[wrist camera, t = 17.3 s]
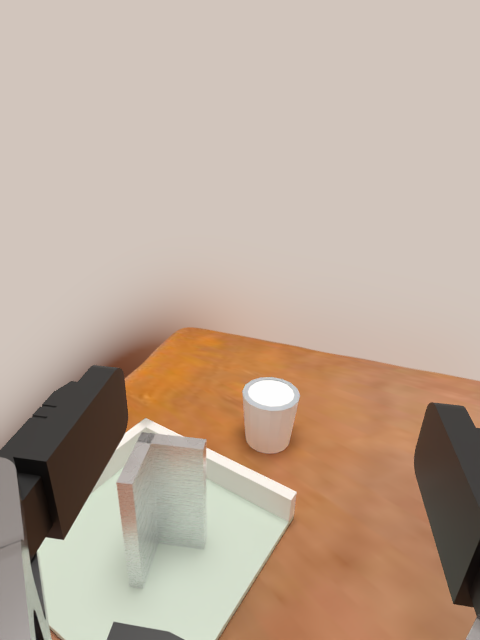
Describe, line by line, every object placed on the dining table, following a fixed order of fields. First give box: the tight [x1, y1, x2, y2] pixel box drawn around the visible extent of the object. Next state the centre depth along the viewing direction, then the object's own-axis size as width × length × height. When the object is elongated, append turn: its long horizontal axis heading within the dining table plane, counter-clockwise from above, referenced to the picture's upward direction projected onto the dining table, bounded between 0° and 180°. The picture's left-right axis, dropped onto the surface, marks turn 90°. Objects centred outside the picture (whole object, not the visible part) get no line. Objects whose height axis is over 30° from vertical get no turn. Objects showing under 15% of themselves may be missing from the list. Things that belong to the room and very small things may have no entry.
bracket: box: [116, 432, 207, 589], centre depth 36 cm, size 6×6×12 cm
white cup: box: [242, 377, 300, 454], centre depth 53 cm, size 7×7×7 cm
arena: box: [38, 418, 297, 640], centre depth 40 cm, size 20×20×4 cm
